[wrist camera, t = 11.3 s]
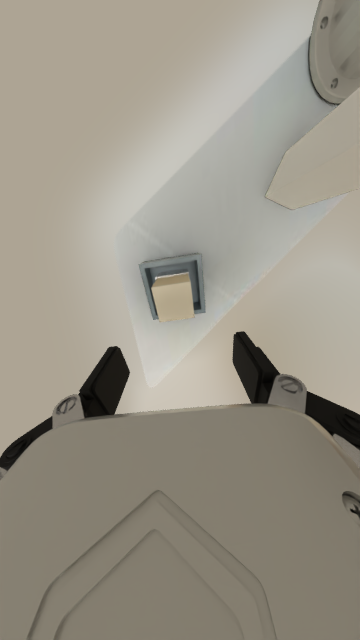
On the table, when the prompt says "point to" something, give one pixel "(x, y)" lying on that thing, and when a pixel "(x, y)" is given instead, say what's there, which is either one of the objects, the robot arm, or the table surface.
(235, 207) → the table surface
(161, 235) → the table surface
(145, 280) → the tote
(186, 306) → the beige cube
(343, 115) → the milk
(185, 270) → the block
